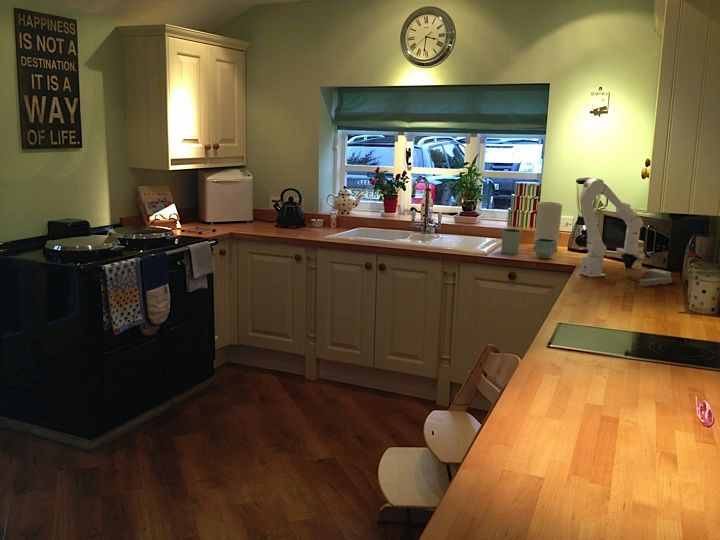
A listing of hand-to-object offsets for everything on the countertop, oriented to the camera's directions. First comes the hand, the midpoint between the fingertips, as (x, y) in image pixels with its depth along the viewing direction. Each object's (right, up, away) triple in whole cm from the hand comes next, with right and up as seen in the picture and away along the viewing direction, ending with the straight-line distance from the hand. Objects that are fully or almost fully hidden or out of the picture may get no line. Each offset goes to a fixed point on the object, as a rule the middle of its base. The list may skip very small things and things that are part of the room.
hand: (627, 270), depth 322 cm
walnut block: (+2, -4, -4) cm, 6 cm away
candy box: (+6, -1, +12) cm, 13 cm away
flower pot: (-30, +6, +35) cm, 46 cm away
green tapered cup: (-45, +9, +44) cm, 64 cm away
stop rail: (+7, -6, -13) cm, 16 cm away
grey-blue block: (+12, -5, -5) cm, 13 cm away
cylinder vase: (-23, +11, +58) cm, 64 cm away
